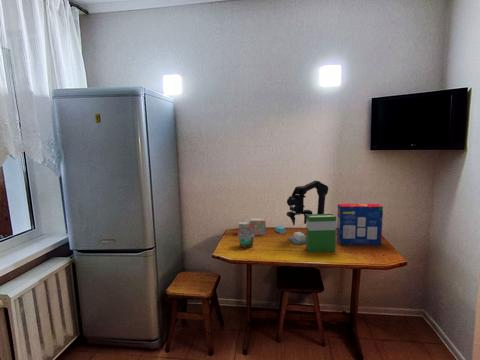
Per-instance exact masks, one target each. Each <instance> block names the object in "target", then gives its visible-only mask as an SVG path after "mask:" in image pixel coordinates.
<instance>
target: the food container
mask: <svg viewBox="0 0 480 360" xmlns="http://www.w3.org/2000/svg"><path fill="white" fill-rule="evenodd" d="M237 237H238V241H239V247H240V248H241V249H243V250H246V249H247V250H248V249H251V248H253V245H254V238H255V235H254V233H253V234H247V233H239V231H238V232H237Z"/></svg>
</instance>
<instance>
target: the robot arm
mask: <svg viewBox="0 0 480 360" xmlns="http://www.w3.org/2000/svg"><path fill="white" fill-rule="evenodd" d="M312 189H316V193H317V195H318V198H317V199H318V202H317V203H318V204H317V213H316V214H325V205H326V196H327V194H328V193H329V187H328V185H326V184H324V183H322V182H321V181H319V180H313V181H310V182H309V183H307V184H305V185H300V186H296V187H294V190H293V192H292V194H291V195H290V196H288V198H287V200H286V203H287V205H288V206H289V211H287V212H286V216H287V217H288V218H290V220H291V222H292V225H293V226H295V224H296V216H298V215H303V218H304V219H303V223H304V225H307V214H313V211H312V210H310V209H305V205H304V202H305V200H304V199H305V198H306V194H307V192H308V191H310V190H311V191H312Z"/></svg>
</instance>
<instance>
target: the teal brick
mask: <svg viewBox="0 0 480 360" xmlns="http://www.w3.org/2000/svg"><path fill="white" fill-rule="evenodd" d="M274 232H276V233H278V234H285V233H286V227H284V226H282V225H276V226H274Z"/></svg>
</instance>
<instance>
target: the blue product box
mask: <svg viewBox="0 0 480 360" xmlns="http://www.w3.org/2000/svg"><path fill="white" fill-rule="evenodd" d="M383 211H384V206H383V205H381V204H379V203H337V219H336V241H337V243H338V245H339V246H340V245H343V246H344V245H345V246H376V247H377V246H378V247H379V246H380V247H381V246H382V232H383V231H382V230H383V228H382V227H383V217H384V216H383V215H384V214H383V213H384V212H383Z"/></svg>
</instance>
